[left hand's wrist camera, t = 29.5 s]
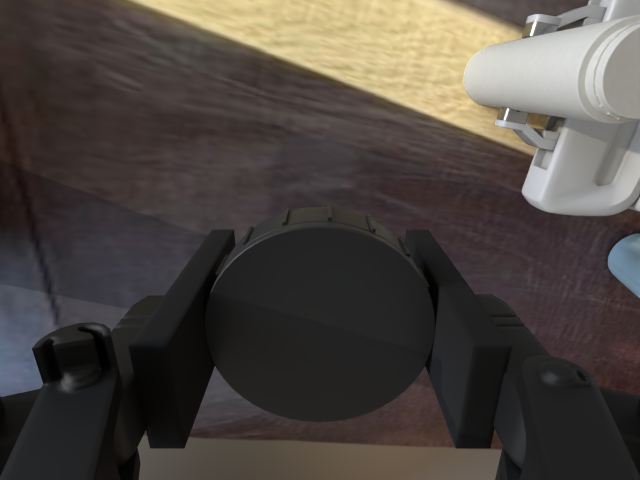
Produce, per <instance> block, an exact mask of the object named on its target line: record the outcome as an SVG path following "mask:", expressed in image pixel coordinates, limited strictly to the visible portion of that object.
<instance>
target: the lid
mask: <svg viewBox="0 0 640 480" xmlns="http://www.w3.org/2000/svg"><path fill="white" fill-rule="evenodd" d="M216 275H218V277H217V279H216V281H215V283H214V285H213V287H212V290H211V292H210V294H209V297H208V301H207V304H206V309H205V316H204V325H205V333H206V341H207V347H208V350H209V353H210V356H211V358H212V360H213V362H214V364H215V366H216V368H217V370H218V371H219V373H220V374H221V376H222V377H223V378H224V380H225V381H226V382H227V383H228V384H229V385H230V386H231V387H232V388H233V389H234V390H235V391H236V392H237V393H238V394H239V395H241V396H242V397H243V398H245V399H246V400H248V401H249V402H251V403H252V404H254V405H256V406H257V407H259V408H261V409H263V410H265V411H268V412H270V413H273V414H275V415H278V416H282V417H285V418H289V419H294V420H300V421H308V422H333V421H340V420H346V419H351V418H355V417H359V416H362V415H364V414H367V413H370V412H372V411H374V410H377V409H379V408H381V407H383V406H384V405H386V404H388V403H389V402H391V401H393V400H394V399H395V398H397V397H398V396H399V395H400V394H402V393H403V392H404V391H405V390H406V389H407V388H408V387H409V386H410V385H411V384H412V383H413V382H414V381H415V379H416V378H417V377H418V375H419V374H420V373H421V371H422V369H423V368H424V366H425V364H426V363H427V360H428V358H429V355H430V353H431V350H432V347H433V342H434V335H435V327H436V319H435V309H434V305H433V301H432V297H431V295H430V292H429V290H430V289H431V288H430V286H429V284H428V282H427V280H426V278H425V276H424V274H423V273H422V271H421V269H420V268H419V269H418V268H417V266H416V264H415V262H414V260H413V258H412V257H411V254H410V252H409V250H408V249H407V247H406V245H405V243H404V241H403V239H402V238H401V237H400V238H399V239H398V238H397V237H396V236H395V235H394V234H393V233H391V232H390V231H389V230H388V229H387V228H385V227H384V226H382V225H381V224H379V223H378V222H376V221H374V220H373V219H372V217H371V216H370V215H367V217H366V216H364V215H361V214H358V213H355V212H352V211H348V210H344V209H339V208H331V205H328V204H327V207H307V208H301V209H295V210H291V211H289V208H288V209H285V212H284V213H281V214H279V215H276V216H274V217H272V218H270V219H267V220H266V221H264V222H262V223H261V224H259V225H258V226H256V227H255V228H253V227H252V226H251V227H250V228H249V229H248V232H247V234H246V235H245V236H244V237H243V238H242V239H241V240H240V241H239V242H238V244H237V245H236V246H235V247H234V249H233V250H232V252H231V253H230V255H227V254H226V256H225V257H224V259H223V261H222V263H221V265H220V267H219V269H218V270H217V272H216Z"/></svg>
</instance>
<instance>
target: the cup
mask: <svg viewBox="0 0 640 480" xmlns="http://www.w3.org/2000/svg"><path fill="white" fill-rule="evenodd" d="M608 267H609V270H610V271H611V273H612V274H613V275H614V276H615V277H616V278H617V279H618V280H620V281H621V282H622V283H623V284H624V285H625V286H626V287H627V288H629V289H630V290H631V291H632V292H633V293H634V294H635V295H637V296H638V297H639V298H640V233H637V234H632V235H629V236H627V237H625V238H623V239H622V240H620V241H619V242H618V243H617V244H616V245H615V246H614V247H613V248H612V250H611V252H610V254H609V257H608Z"/></svg>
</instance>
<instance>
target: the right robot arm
mask: <svg viewBox="0 0 640 480" xmlns="http://www.w3.org/2000/svg"><path fill="white" fill-rule="evenodd" d="M635 15H640V0H589V2H588V5H587V6H584V7H580V8H577V9H573V10H571V11H568V12H566V13H563V14H561V15H558V16H556V17H554V16H549V15H543V14H534V15H531V16H528V18H527V22H526V25H525V28H524V31H523V35H522V38H523V39H524V38H529V37H534V36H538V35H543V34H548V33H553V32H556V31H557V28H559V27H562V26H564V25H567V24H569V25H568V29H572V28H577V27H582V26H587V25H592V24H596V23H601V22H606V21H611V20H616V19H620V18H625V17H630V16H635ZM528 114H529V112H524V111H517V110H514V109H509V108H502V107H500V110H499V113H498V116H497V119H496V122H495V125H496V126H500V127H504V128H510V129H513V131H514V132H515V133H516V134H517V135H518V136H519V137H520V138H521V139H522V140H523V141H524V142H525V143H526V144H528V145H531V146H535V147H537V149H536V152H535V155H534V158H533V160H532V163H531V166H530V169H529V172H528V175H527V177H526V180H525V183H524V186H523V188H522V194H523V196H524V197H525V199H526V200H527V201H528V202H529V203H530V204H531V205H533V206H534V207H536V208H538V209H540V210H543V211H545V212H549V213H555V214H564V215H577V216H608V215H613V214H617V213H620V212H622V211H624V210H626V209H627V208H629V209H632V210H635V211H639V212H640V120H635V121H631V122H627V123H623V124H604V123H597V122H591V121H584V120H577V119H571V118H564V117H557V116H551V115H548V118H547V121H546V124H545V127H544V129H536V128H534V129H533V128H532V127H530V126H529V125H528V124H527V123H526V121H527V117H528Z"/></svg>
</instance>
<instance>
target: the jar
mask: <svg viewBox="0 0 640 480" xmlns="http://www.w3.org/2000/svg"><path fill="white" fill-rule="evenodd" d="M464 88H465V91H466V93H467V95H468V96H469V97H470V99H471V100H473V101H474V102H475V103H477V104H480V105H484V106H491V107H497V108H500V107H502V108H509V109H514V110H517V111H524V112H531V113H537V114H544V115H551V116H557V117H564V118H571V119H577V120H584V121H591V122H597V123H604V124H623V123H627V122H631V121H635V120H640V15H635V16H630V17H625V18H620V19H616V20H611V21H606V22H601V23H596V24H592V25H587V26H582V27H577V28H572V29H567V30H563V31H558V32H553V33H548V34H543V35H538V36H534V37H529V38H524V39H519V40H514V41H509V42H505V43H500V44H495V45H490V46H487V47H484V48H482V49H481V50H479V51H478V52H477V53H476V54H474V56H473V57H472V58H471V59H470V61H469V62H468V64H467V66H466V69H465V72H464Z"/></svg>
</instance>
